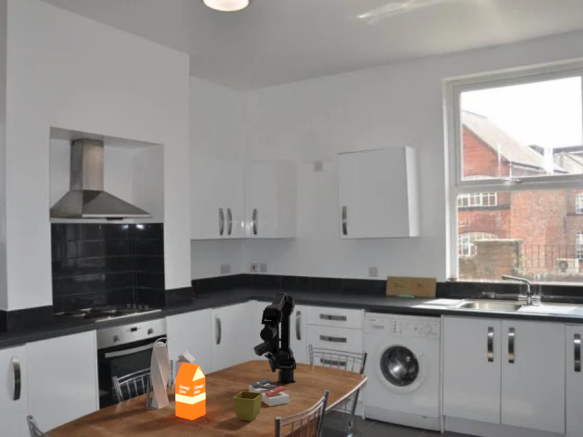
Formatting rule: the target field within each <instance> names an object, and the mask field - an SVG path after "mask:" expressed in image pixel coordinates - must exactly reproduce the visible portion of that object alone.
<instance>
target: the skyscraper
mask: <svg viewBox="0 0 583 437" xmlns="http://www.w3.org/2000/svg"><path fill="white" fill-rule="evenodd" d="M160 340H166V341H165V343H164V342H162V341H160ZM168 342H169V337H160V338H158V339H156V340H155V341H154V343H153V346H152V352H151V358H150V359H151V360H150V377H151V378H150V379H151V384H152V385H151V386H152V389H153V396H152V398H151V387H150V380H149V376H147V381H146V383H147V386H146V387H145V389H146V398H145V404H146V405H145V407H147V408H146V409H149V408H150V410H153V409H154V410H153V411H159V410H161V408H162V409H164V408H163V407H165V408H167V406H168V407H169V406H170V401H169V397H168V393H167V388H168V387H167V386H168V382H169V377H170V359H169V358H170V357H169V353H168V347H167V344H168ZM151 399H152V400H151ZM157 408H158V409H159V410H158V409H157Z"/></svg>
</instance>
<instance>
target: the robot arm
mask: <svg viewBox="0 0 583 437" xmlns="http://www.w3.org/2000/svg"><path fill="white" fill-rule="evenodd" d="M295 307H296V302H295V299H294V297H292V296H290V295H289V294H288V293H287V292H278V293H276V294H275V297H274V299H273V301H272V302H271V304H268V305H267V306H266V307H264V309H263V311H262V316H261V323H260V324H261V325H264V327H263V328H262V329H261V330H260V332H259V337H260V339H261V340H262V341H263V342H261V343H259V344H258V345H255V346H254V347H253V350H254V353H255V354H254V355H256V356H258V357H262V356H263V357H264V358H266V360H268V363H269V367H270V370H271V373H275V372H276V371H277V370H278V374H277V376H278V377H277V378H278V379H277V381H278V382H279V383H281V384H289V383H295V382H296V380H294V379H295V377H294V375H295V374H294V373H295V372H294V371H295V370H297V361H296V359H295V357H294V352H293V350H292V348H291V316H292V314H293V313H294V309H295Z"/></svg>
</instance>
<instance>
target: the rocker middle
mask: <svg viewBox="0 0 583 437" xmlns="http://www.w3.org/2000/svg"><path fill="white" fill-rule="evenodd" d="M258 387H260V388H261V389H274V388H277V387H279V386H278V385H276V384H270V385H262V384H259V385H258Z"/></svg>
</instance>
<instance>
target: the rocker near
mask: <svg viewBox="0 0 583 437" xmlns="http://www.w3.org/2000/svg"><path fill="white" fill-rule="evenodd" d="M270 383H272V379H270V378H264V379H262V380H259V381H255V382H252V383H251V385H252V386H253V387H254V388H257V387H258V385H259V384H262V385H265V384H270Z"/></svg>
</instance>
